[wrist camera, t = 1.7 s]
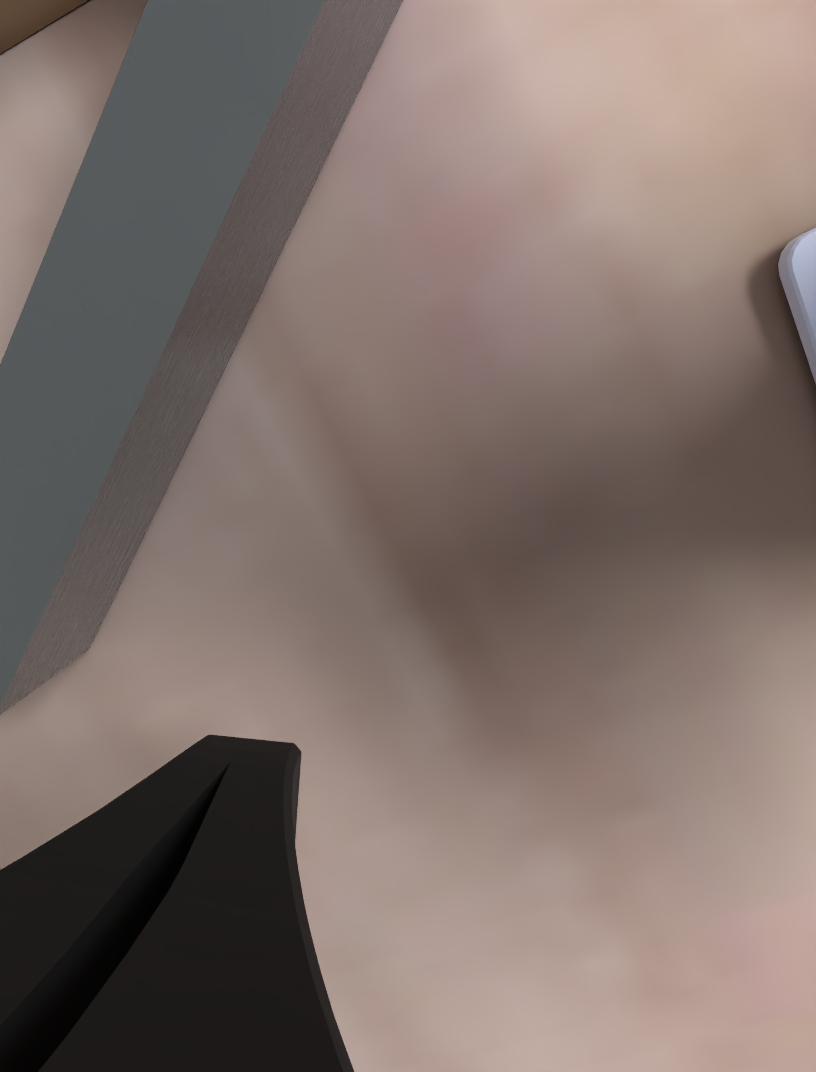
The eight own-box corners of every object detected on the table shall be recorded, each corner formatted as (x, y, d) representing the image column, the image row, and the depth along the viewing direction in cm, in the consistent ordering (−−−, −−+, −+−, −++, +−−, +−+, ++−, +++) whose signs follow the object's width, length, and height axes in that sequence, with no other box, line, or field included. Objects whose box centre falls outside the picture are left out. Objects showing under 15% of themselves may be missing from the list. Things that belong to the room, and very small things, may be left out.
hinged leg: (340, -161, 10) (296, -448, 7) (446, -91, 10) (457, -335, 7) (2, 603, 13) (-148, 676, 10) (88, 649, 13) (-29, 735, 10)
